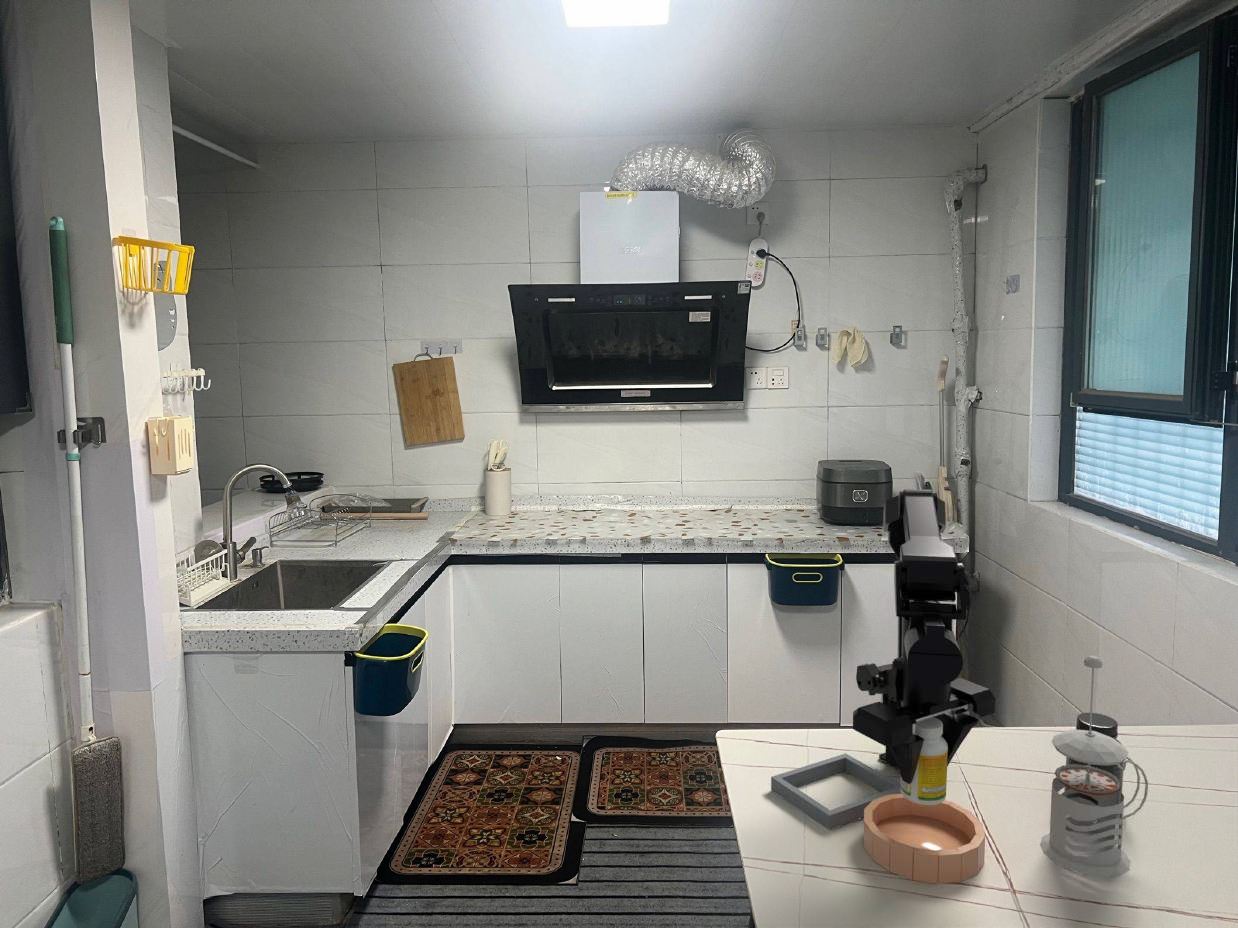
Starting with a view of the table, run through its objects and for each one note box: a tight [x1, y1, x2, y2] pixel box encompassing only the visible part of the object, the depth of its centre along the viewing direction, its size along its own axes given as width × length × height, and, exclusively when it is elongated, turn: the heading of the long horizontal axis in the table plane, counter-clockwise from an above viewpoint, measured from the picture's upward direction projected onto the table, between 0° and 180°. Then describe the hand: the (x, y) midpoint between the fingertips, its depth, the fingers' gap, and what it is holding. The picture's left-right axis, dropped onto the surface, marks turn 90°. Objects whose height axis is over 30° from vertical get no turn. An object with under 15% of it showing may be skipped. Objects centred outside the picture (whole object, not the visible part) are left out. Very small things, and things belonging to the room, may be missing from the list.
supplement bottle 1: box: [899, 717, 948, 805], centre depth 105 cm, size 5×5×10 cm
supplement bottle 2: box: [1063, 712, 1125, 805], centre depth 115 cm, size 7×7×12 cm
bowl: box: [863, 794, 986, 885], centre depth 106 cm, size 14×14×4 cm
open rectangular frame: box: [770, 752, 902, 831], centre depth 119 cm, size 14×12×2 cm
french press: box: [1039, 655, 1149, 878], centre depth 103 cm, size 10×12×25 cm
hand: (923, 776), depth 105 cm, fingers closed on supplement bottle 1, 5 cm apart
